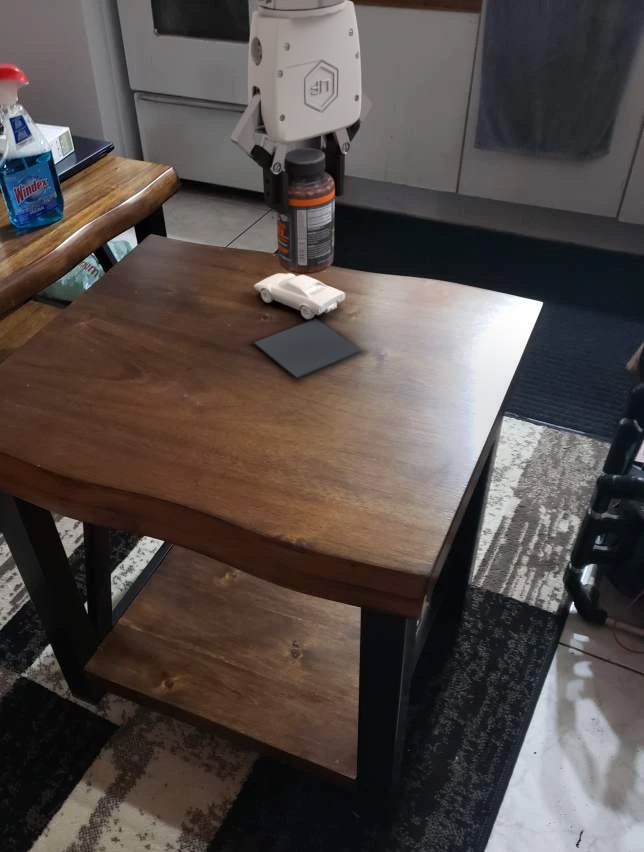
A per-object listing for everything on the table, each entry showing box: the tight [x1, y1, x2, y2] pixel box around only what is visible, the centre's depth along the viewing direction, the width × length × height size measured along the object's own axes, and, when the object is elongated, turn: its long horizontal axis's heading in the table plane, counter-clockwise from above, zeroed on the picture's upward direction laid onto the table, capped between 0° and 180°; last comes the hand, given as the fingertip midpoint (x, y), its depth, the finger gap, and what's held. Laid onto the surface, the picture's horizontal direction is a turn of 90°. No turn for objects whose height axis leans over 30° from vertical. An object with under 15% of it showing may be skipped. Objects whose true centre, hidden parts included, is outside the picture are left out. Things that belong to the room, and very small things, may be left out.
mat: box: [253, 318, 361, 379], centre depth 88 cm, size 9×9×1 cm
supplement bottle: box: [276, 147, 336, 275], centre depth 77 cm, size 6×6×11 cm
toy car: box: [253, 272, 346, 320], centre depth 94 cm, size 6×12×3 cm, turn 47°
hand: (305, 199), depth 76 cm, fingers closed on supplement bottle, 6 cm apart
